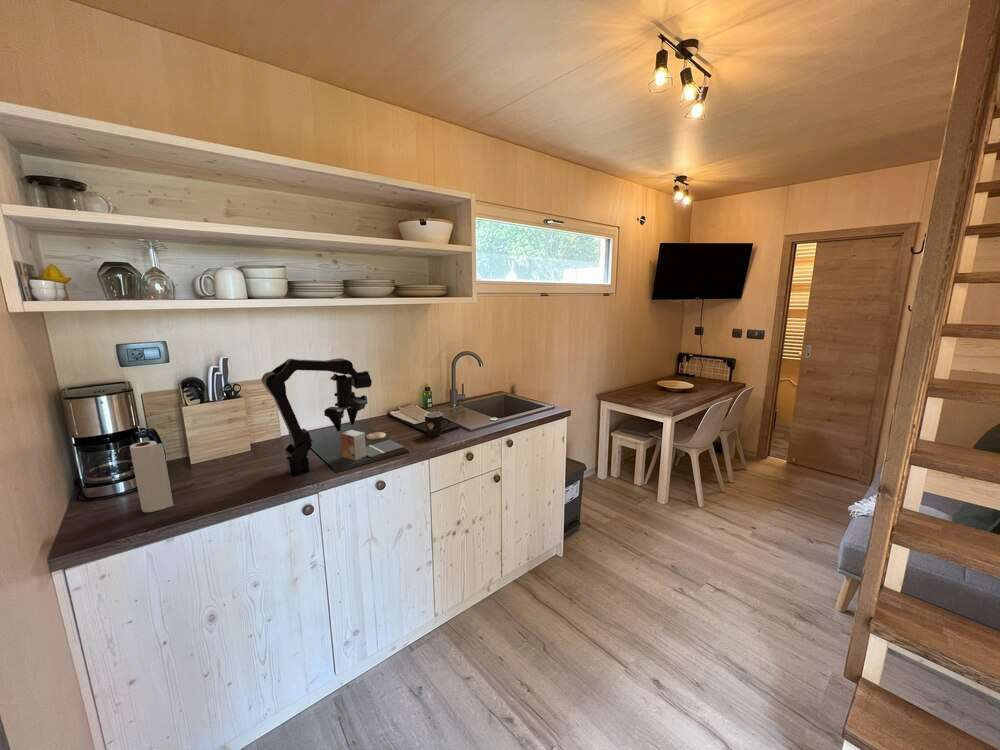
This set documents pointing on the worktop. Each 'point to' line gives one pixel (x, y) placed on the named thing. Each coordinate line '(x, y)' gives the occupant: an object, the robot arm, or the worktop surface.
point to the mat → (382, 448)
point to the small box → (353, 445)
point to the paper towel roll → (151, 476)
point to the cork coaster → (375, 436)
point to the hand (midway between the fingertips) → (346, 427)
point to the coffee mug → (434, 423)
